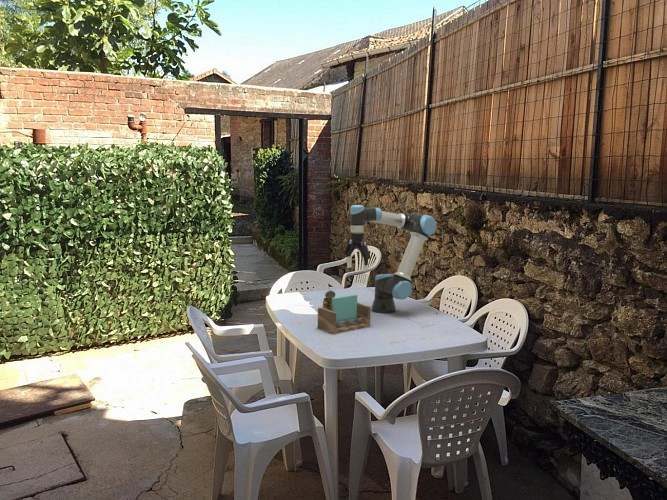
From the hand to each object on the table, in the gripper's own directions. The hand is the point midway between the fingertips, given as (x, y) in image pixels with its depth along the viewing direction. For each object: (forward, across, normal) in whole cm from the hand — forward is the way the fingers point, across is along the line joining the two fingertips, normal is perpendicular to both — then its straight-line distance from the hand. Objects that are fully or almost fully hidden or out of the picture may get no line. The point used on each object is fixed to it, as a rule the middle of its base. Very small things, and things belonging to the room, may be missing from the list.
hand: (357, 269), depth 307 cm
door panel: (+28, +6, -15) cm, 33 cm away
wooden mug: (+30, -15, -10) cm, 35 cm away
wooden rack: (+30, +6, -15) cm, 34 cm away
